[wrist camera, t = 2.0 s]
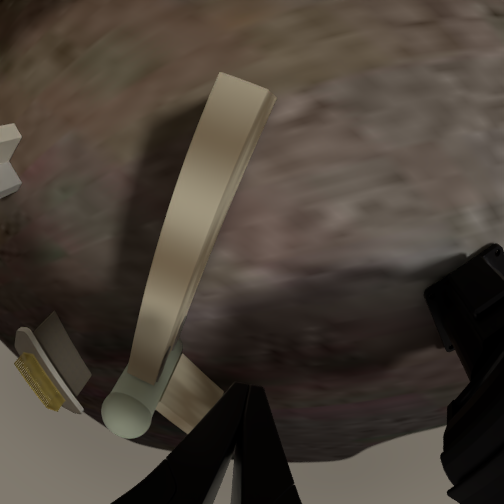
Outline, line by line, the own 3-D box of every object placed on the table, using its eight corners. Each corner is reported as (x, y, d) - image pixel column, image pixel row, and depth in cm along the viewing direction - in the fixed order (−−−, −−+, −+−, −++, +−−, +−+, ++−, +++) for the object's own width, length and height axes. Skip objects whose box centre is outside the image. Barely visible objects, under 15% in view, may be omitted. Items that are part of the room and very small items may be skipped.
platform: (73, 395, 30) (49, 432, 24) (0, 265, 23) (-43, 298, 17) (152, 409, 28) (129, 458, 22) (71, 251, 21) (15, 295, 15)
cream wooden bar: (179, 336, 21) (154, 387, 17) (154, 324, 21) (125, 372, 17) (279, 99, 14) (271, 90, 9) (241, 84, 14) (217, 71, 9)
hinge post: (192, 349, 22) (151, 446, 14) (165, 362, 23) (123, 449, 15) (163, 320, 21) (108, 413, 13) (137, 335, 22) (85, 419, 15)
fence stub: (223, 391, 24) (210, 439, 19) (213, 394, 24) (198, 441, 20) (182, 353, 23) (160, 401, 18) (172, 357, 23) (150, 404, 18)
